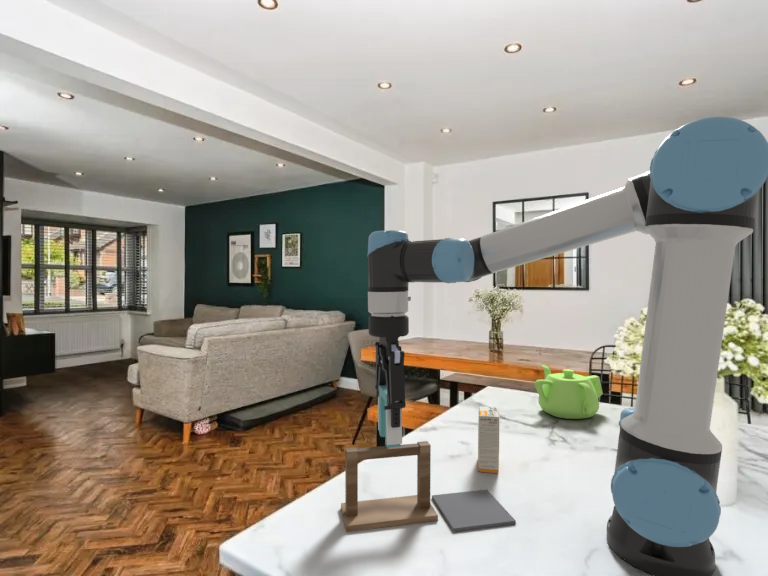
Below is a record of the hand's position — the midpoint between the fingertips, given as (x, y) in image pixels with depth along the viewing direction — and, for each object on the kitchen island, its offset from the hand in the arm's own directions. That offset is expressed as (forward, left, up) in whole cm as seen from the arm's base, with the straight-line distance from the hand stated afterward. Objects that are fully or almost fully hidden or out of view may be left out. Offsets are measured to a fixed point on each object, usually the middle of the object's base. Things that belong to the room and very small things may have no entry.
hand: (389, 436), depth 83 cm
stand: (0, 0, -15) cm, 15 cm away
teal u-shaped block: (0, 0, -1) cm, 1 cm away
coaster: (-2, -16, -15) cm, 22 cm away
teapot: (+49, -71, -15) cm, 88 cm away
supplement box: (+16, -28, -15) cm, 36 cm away
